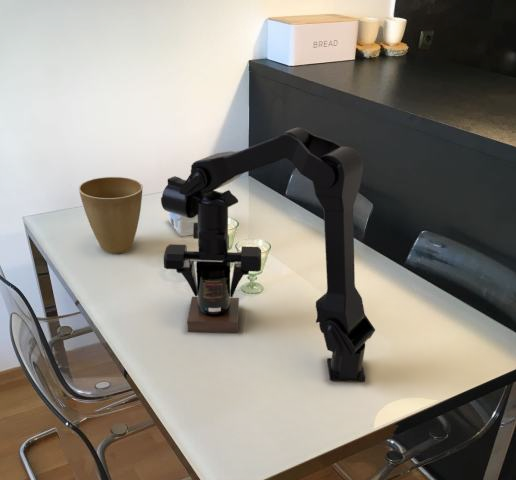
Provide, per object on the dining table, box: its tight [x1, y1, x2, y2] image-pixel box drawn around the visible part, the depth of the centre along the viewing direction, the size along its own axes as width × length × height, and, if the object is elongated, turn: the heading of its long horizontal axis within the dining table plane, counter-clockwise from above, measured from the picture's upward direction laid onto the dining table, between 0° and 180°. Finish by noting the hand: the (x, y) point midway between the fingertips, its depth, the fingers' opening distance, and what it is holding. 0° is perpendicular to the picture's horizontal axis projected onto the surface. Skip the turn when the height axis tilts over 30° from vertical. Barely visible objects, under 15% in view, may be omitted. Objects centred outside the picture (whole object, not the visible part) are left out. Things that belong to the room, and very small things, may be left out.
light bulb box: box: [168, 212, 198, 237], centre depth 160 cm, size 11×7×11 cm, turn 25°
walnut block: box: [186, 296, 240, 334], centre depth 124 cm, size 10×10×2 cm
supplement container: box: [195, 262, 231, 316], centre depth 120 cm, size 7×7×10 cm
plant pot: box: [78, 176, 144, 255], centre depth 147 cm, size 15×15×16 cm
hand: (213, 295), depth 121 cm, fingers closed on supplement container, 7 cm apart
